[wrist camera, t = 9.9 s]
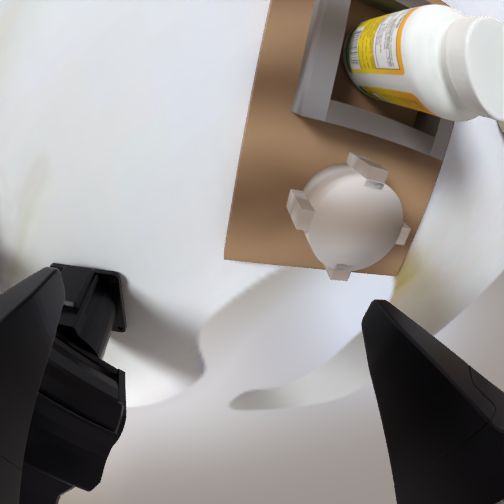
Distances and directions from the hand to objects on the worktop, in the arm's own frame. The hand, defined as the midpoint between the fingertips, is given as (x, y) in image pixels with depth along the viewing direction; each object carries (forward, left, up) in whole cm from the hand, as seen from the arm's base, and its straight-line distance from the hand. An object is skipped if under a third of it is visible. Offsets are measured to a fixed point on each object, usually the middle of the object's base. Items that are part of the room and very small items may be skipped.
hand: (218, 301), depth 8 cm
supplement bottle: (+9, -8, -11) cm, 16 cm away
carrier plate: (+5, -8, -12) cm, 15 cm away
